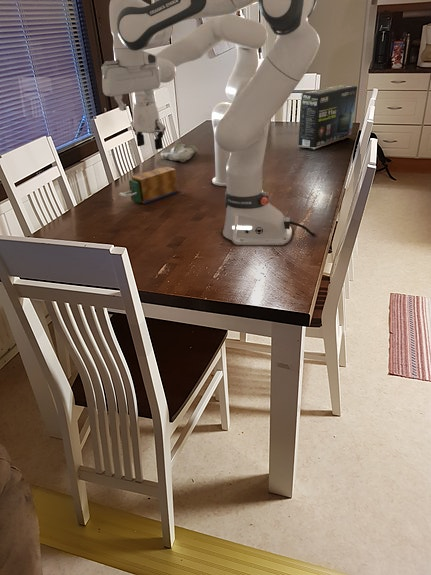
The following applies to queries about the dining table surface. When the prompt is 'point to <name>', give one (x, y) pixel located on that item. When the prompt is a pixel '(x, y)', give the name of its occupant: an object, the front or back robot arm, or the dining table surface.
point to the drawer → (134, 191)
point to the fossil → (179, 152)
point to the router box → (326, 115)
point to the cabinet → (157, 183)
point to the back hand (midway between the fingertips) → (150, 147)
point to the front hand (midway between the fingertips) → (134, 107)
